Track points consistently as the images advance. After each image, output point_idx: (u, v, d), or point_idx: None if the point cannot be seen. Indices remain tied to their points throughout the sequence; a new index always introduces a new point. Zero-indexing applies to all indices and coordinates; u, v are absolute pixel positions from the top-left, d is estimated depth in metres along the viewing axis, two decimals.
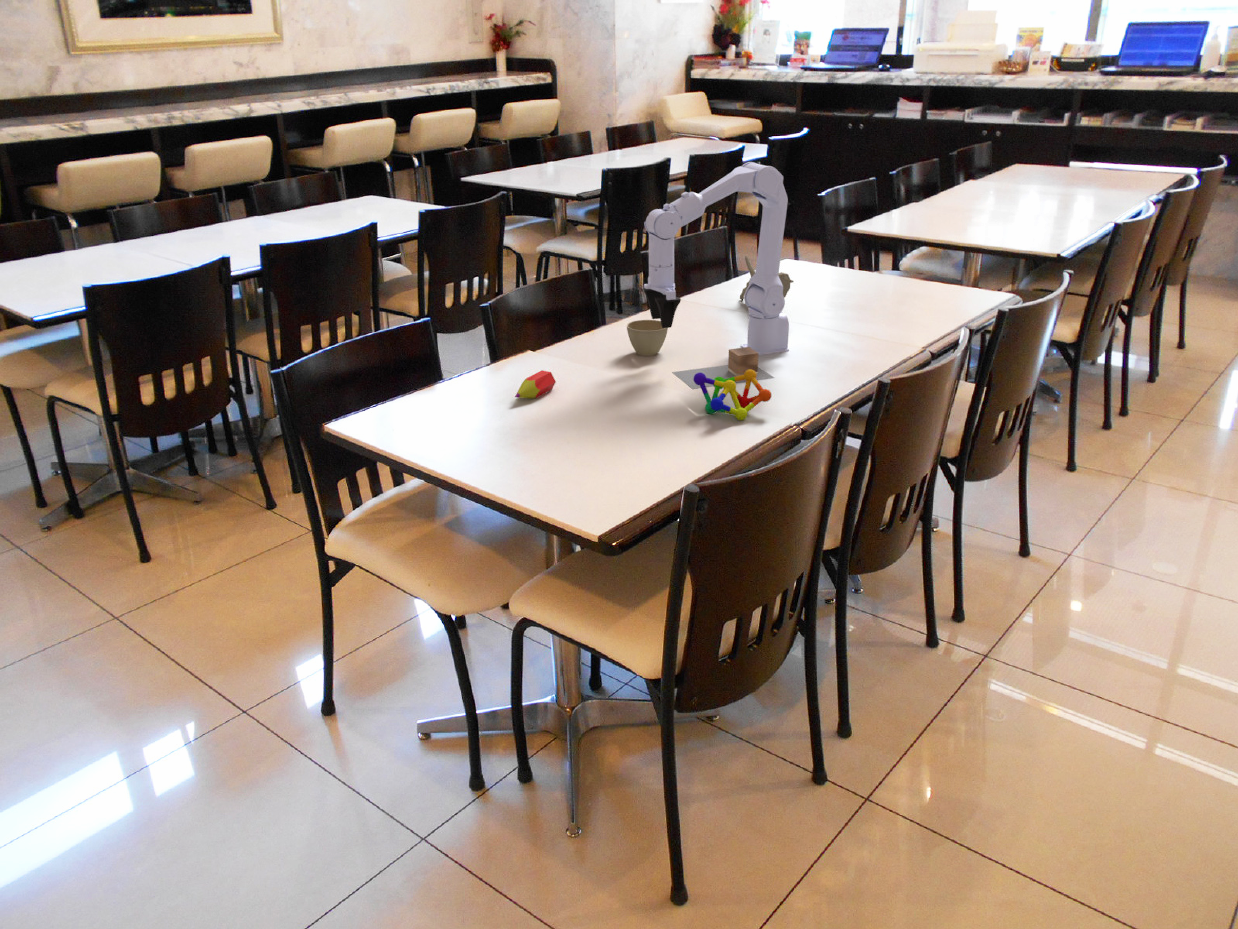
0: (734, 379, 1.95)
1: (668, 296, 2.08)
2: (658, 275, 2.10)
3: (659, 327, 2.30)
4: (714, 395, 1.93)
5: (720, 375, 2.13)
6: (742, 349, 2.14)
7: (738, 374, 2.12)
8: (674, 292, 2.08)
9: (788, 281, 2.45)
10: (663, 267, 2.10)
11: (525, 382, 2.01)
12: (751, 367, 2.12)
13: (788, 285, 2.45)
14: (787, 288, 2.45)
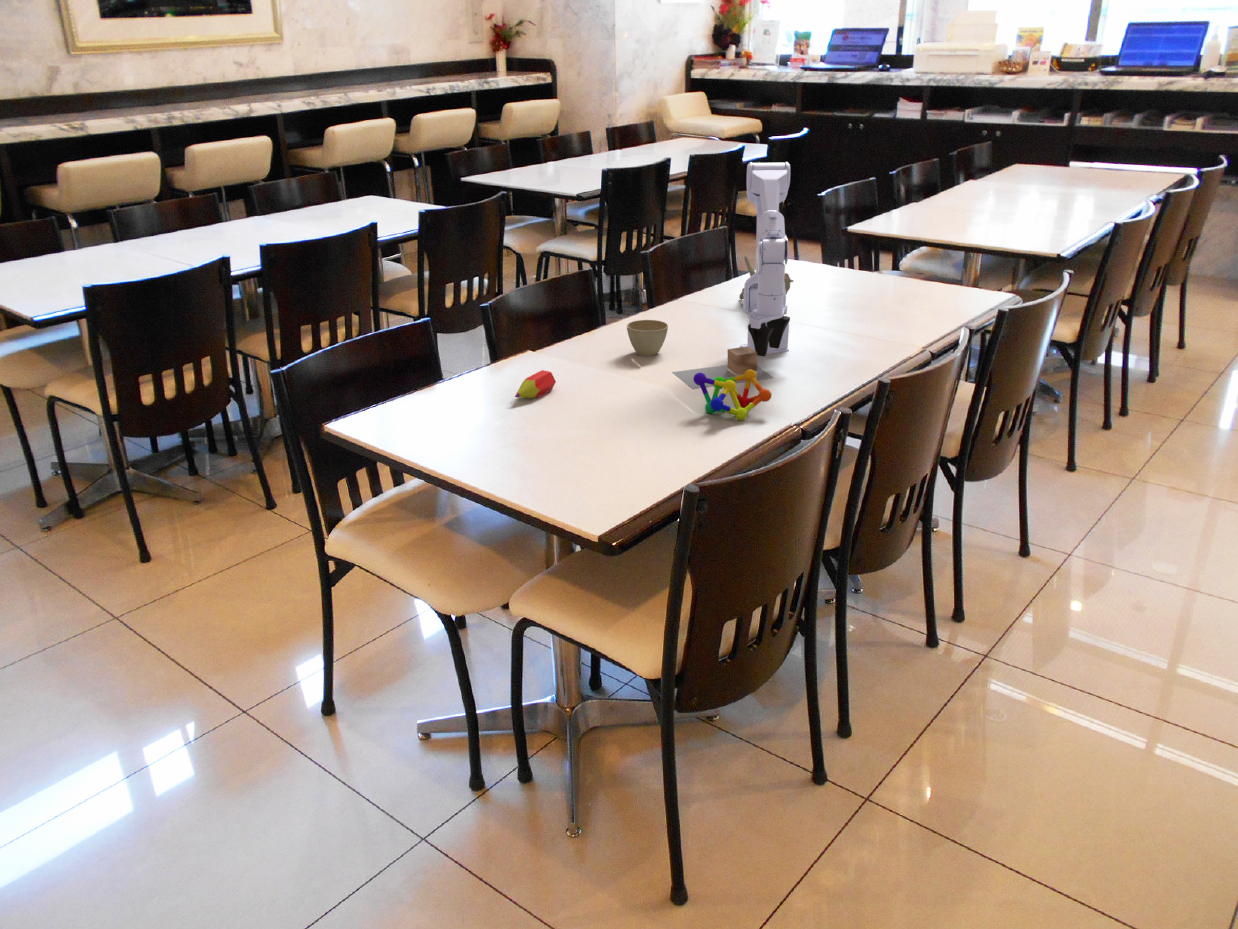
0: (734, 379, 1.95)
1: (751, 324, 2.06)
2: (759, 302, 2.09)
3: (659, 327, 2.30)
4: (714, 395, 1.93)
5: (720, 375, 2.13)
6: (741, 349, 2.14)
7: (737, 374, 2.12)
8: (757, 321, 2.05)
9: (788, 281, 2.45)
10: (763, 295, 2.07)
11: (525, 382, 2.01)
12: (750, 366, 2.12)
13: (788, 285, 2.45)
14: (787, 288, 2.46)
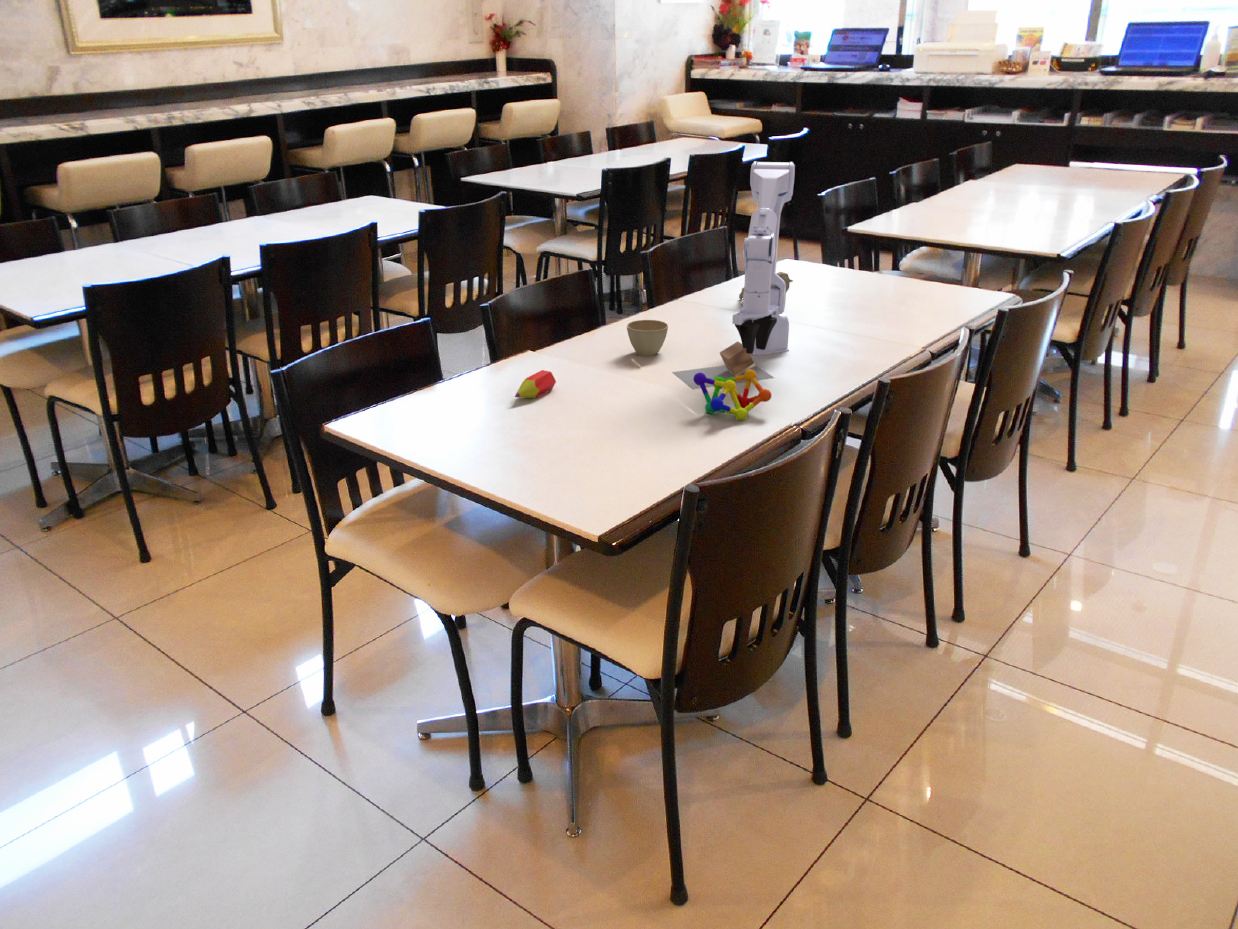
0: (734, 379, 1.95)
1: (733, 320, 2.04)
2: (744, 300, 2.07)
3: (659, 327, 2.30)
4: (714, 395, 1.93)
5: (720, 375, 2.13)
6: (732, 347, 2.13)
7: (736, 374, 2.12)
8: (738, 317, 2.03)
9: (787, 280, 2.45)
10: (747, 292, 2.05)
11: (525, 382, 2.01)
12: (746, 362, 2.11)
13: (787, 284, 2.45)
14: (786, 287, 2.46)
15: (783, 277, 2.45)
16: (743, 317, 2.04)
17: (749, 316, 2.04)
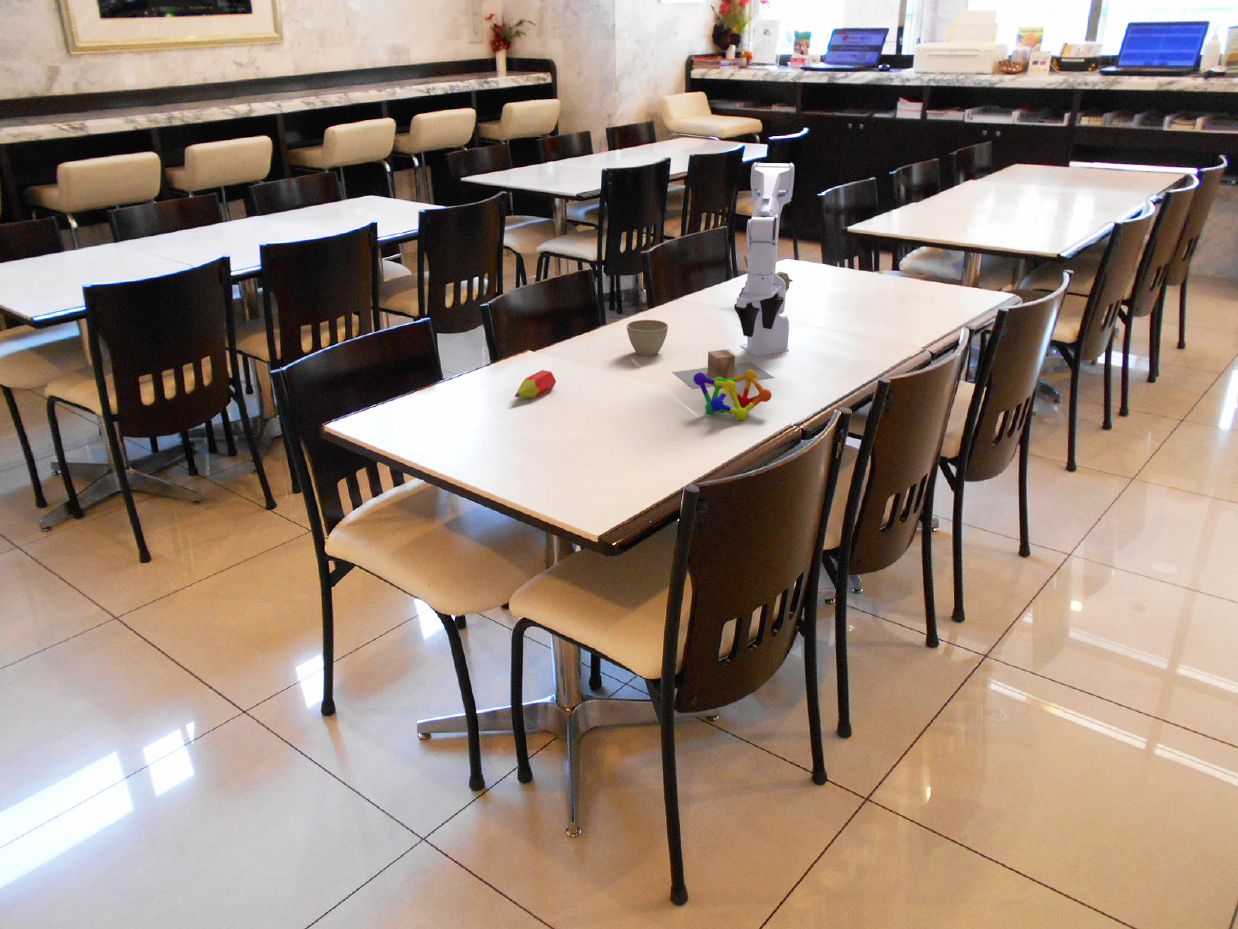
0: (734, 379, 1.95)
1: (737, 303, 2.04)
2: (748, 282, 2.06)
3: (659, 327, 2.30)
4: (714, 395, 1.93)
5: None
6: (710, 362, 2.13)
7: (734, 376, 2.12)
8: (742, 300, 2.03)
9: (787, 280, 2.45)
10: (751, 274, 2.05)
11: (525, 382, 2.01)
12: (729, 363, 2.10)
13: (787, 284, 2.46)
14: (786, 287, 2.46)
15: (783, 277, 2.45)
16: (747, 300, 2.03)
17: (753, 299, 2.04)
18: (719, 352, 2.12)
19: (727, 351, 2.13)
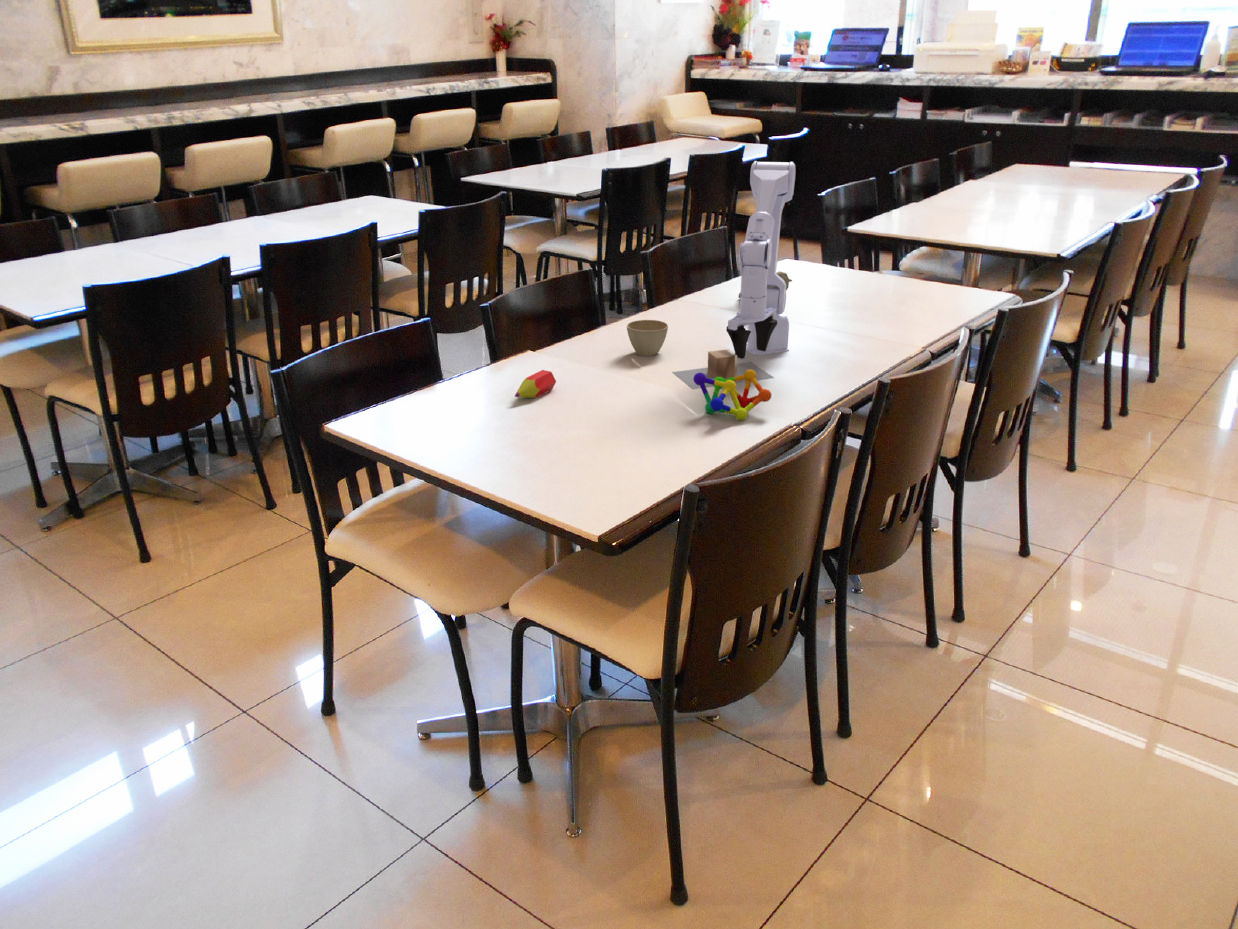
0: (734, 379, 1.95)
1: (728, 325, 2.06)
2: (740, 304, 2.08)
3: (659, 327, 2.30)
4: (714, 395, 1.93)
5: None
6: (710, 362, 2.13)
7: (734, 376, 2.12)
8: (733, 323, 2.05)
9: (786, 280, 2.46)
10: (743, 297, 2.06)
11: (525, 381, 2.01)
12: (729, 363, 2.10)
13: (786, 284, 2.46)
14: None
15: (782, 277, 2.45)
16: (738, 322, 2.05)
17: (744, 321, 2.06)
18: (719, 352, 2.12)
19: (727, 351, 2.13)
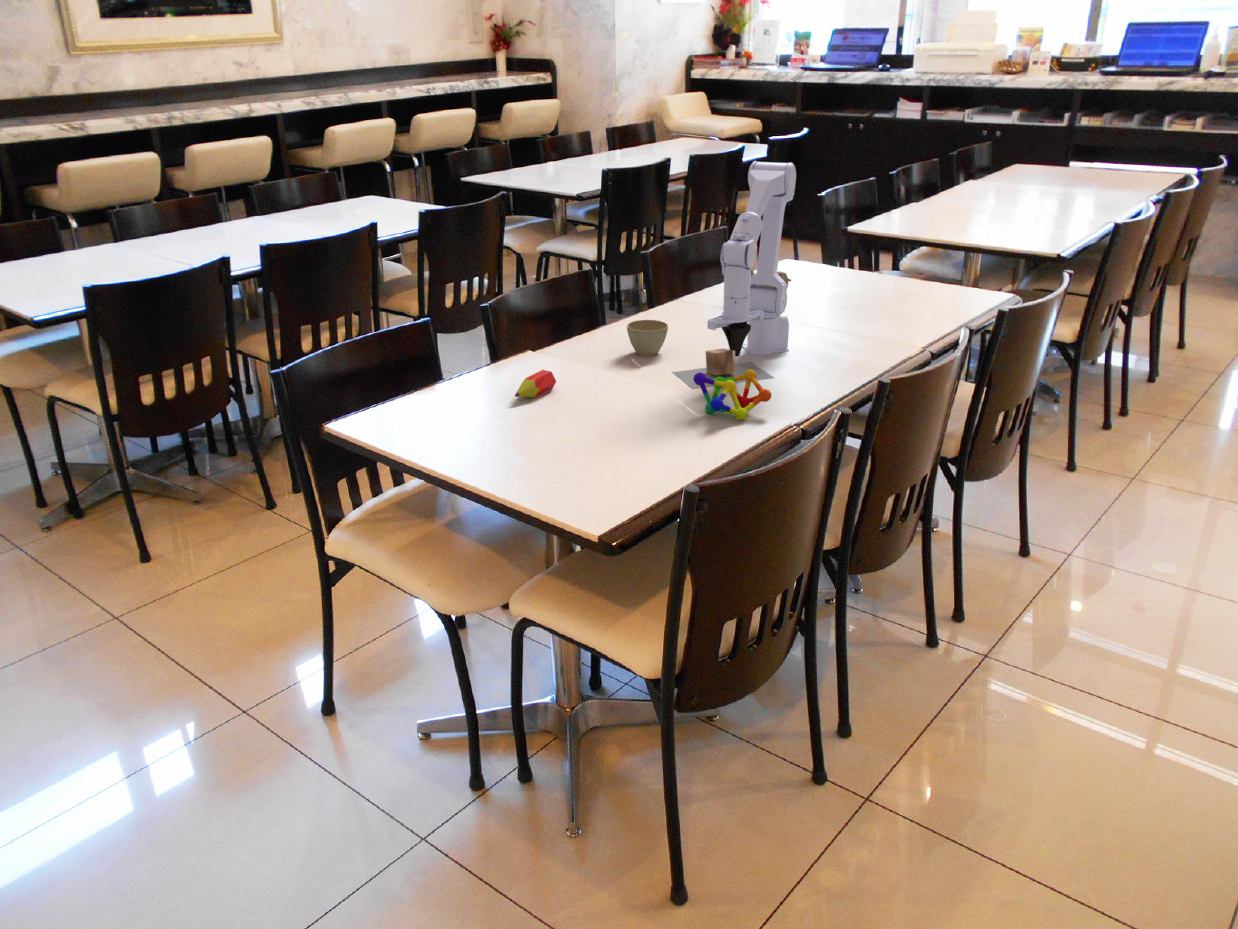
0: (734, 379, 1.95)
1: (708, 325, 2.05)
2: None
3: (659, 327, 2.30)
4: (714, 395, 1.93)
5: (720, 375, 2.13)
6: (708, 360, 2.13)
7: (733, 371, 2.12)
8: (712, 322, 2.04)
9: (786, 280, 2.46)
10: (725, 297, 2.05)
11: (525, 381, 2.01)
12: (728, 358, 2.10)
13: None
14: None
15: (781, 276, 2.45)
16: (717, 322, 2.04)
17: (724, 322, 2.05)
18: (716, 350, 2.13)
19: (724, 349, 2.13)
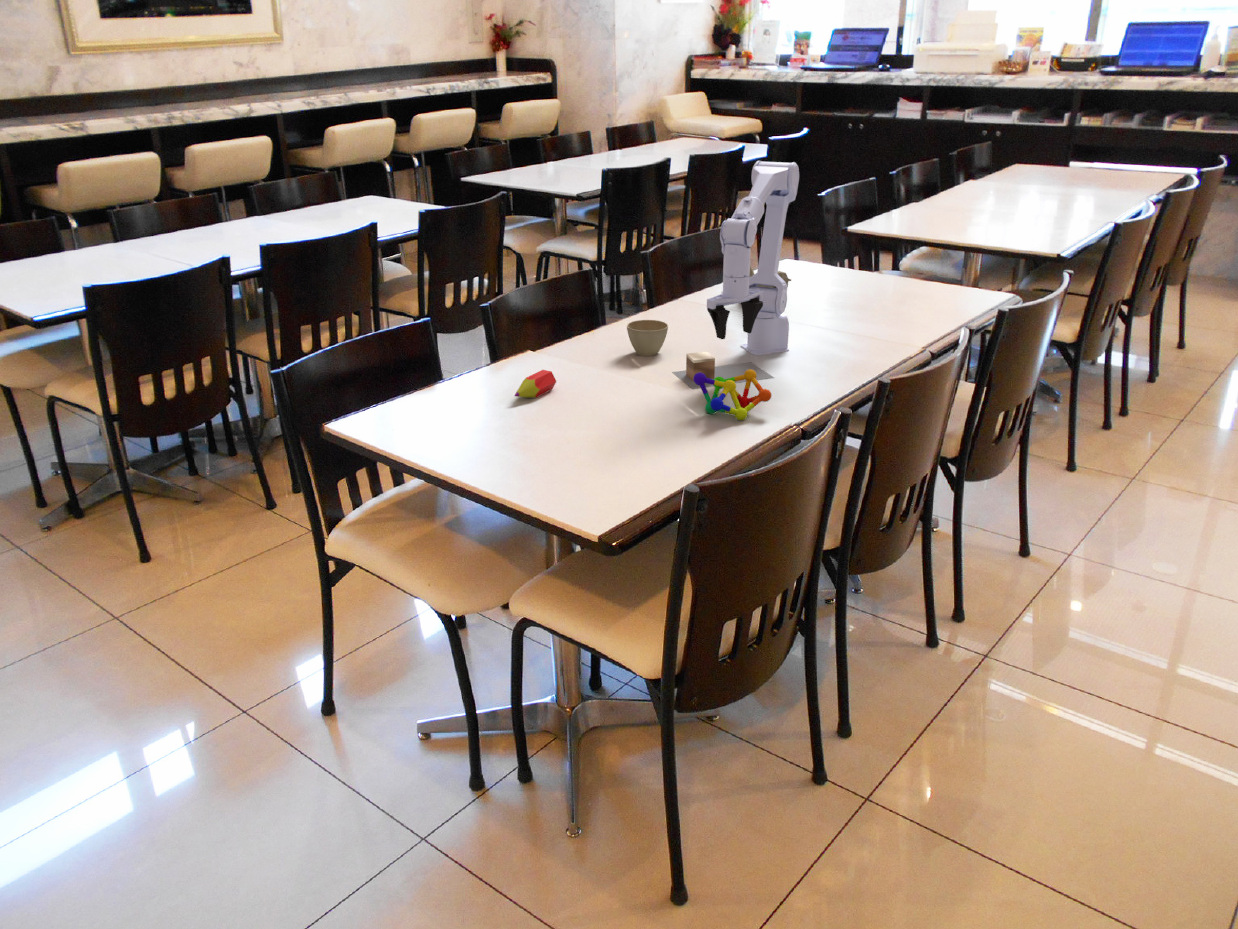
0: (734, 379, 1.95)
1: (707, 304, 2.04)
2: (723, 283, 2.05)
3: (659, 327, 2.30)
4: (714, 395, 1.93)
5: (720, 375, 2.13)
6: None
7: (713, 360, 2.09)
8: (711, 302, 2.02)
9: (786, 280, 2.46)
10: (725, 276, 2.04)
11: (525, 381, 2.01)
12: (700, 367, 2.08)
13: None
14: None
15: (782, 276, 2.45)
16: (717, 301, 2.03)
17: (723, 301, 2.03)
18: (687, 366, 2.12)
19: (688, 359, 2.11)
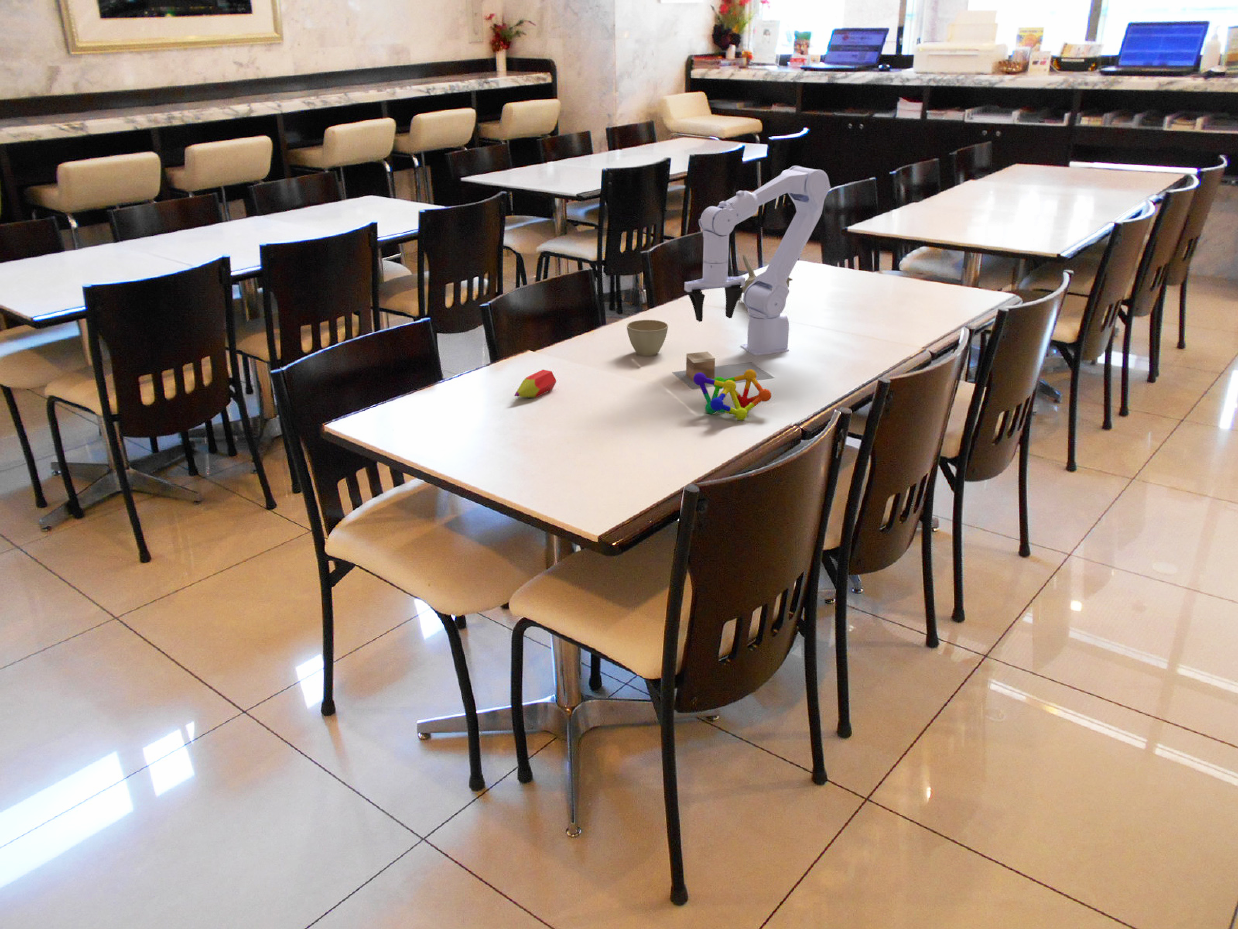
0: (734, 379, 1.95)
1: None
2: None
3: (659, 327, 2.30)
4: (714, 395, 1.93)
5: (720, 375, 2.13)
6: None
7: (713, 360, 2.09)
8: (687, 285, 2.14)
9: (787, 279, 2.46)
10: (703, 261, 2.14)
11: (525, 381, 2.01)
12: (700, 367, 2.08)
13: (787, 283, 2.47)
14: None
15: None
16: (692, 285, 2.14)
17: (699, 285, 2.14)
18: (687, 366, 2.12)
19: (688, 359, 2.11)
